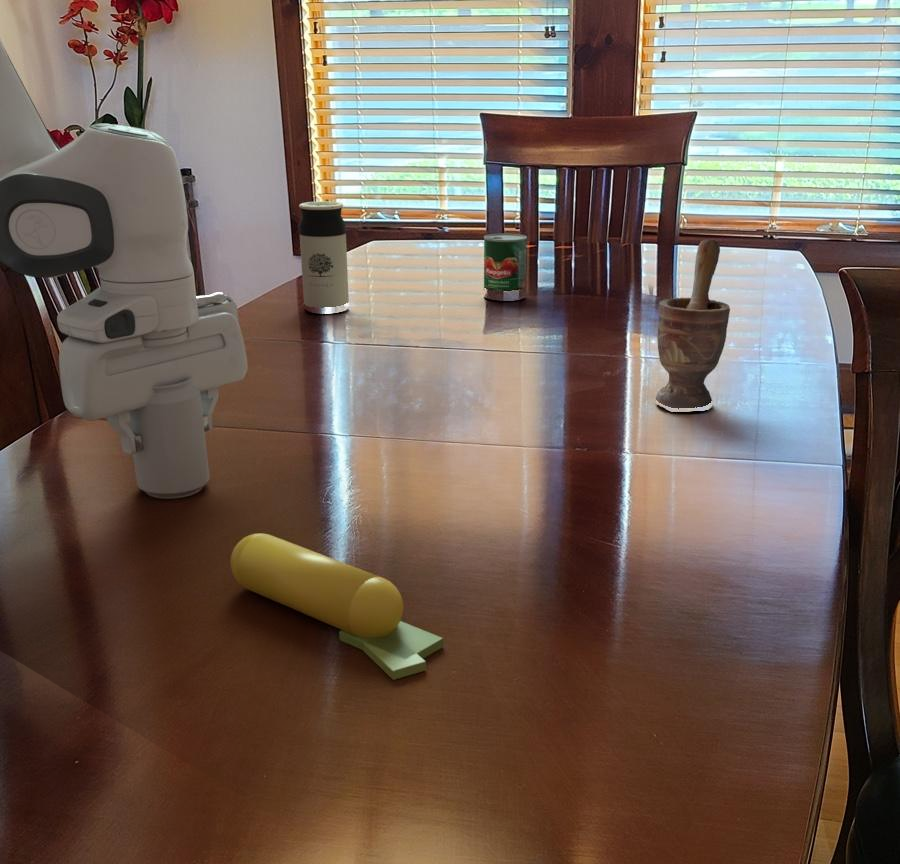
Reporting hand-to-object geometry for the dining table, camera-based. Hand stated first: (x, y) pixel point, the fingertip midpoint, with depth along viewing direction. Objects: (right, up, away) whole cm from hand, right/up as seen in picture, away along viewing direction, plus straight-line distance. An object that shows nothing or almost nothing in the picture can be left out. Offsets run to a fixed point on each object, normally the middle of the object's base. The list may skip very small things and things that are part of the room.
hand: (168, 441), depth 111 cm
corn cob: (+19, -18, -24) cm, 36 cm away
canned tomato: (+39, +40, +90) cm, 106 cm away
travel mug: (+7, +35, +81) cm, 88 cm away
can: (0, -5, +3) cm, 6 cm away
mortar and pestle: (+60, +9, +30) cm, 67 cm away
